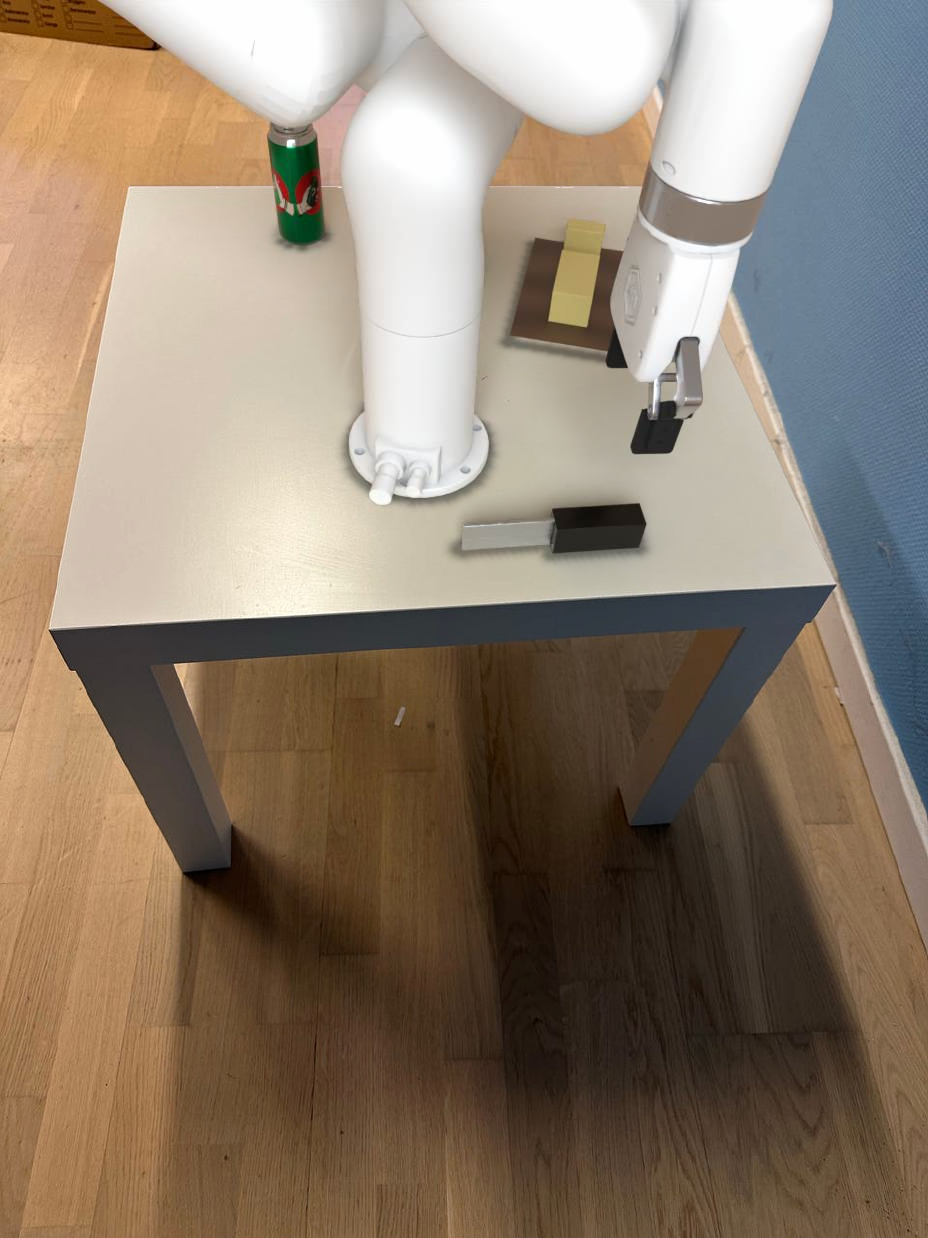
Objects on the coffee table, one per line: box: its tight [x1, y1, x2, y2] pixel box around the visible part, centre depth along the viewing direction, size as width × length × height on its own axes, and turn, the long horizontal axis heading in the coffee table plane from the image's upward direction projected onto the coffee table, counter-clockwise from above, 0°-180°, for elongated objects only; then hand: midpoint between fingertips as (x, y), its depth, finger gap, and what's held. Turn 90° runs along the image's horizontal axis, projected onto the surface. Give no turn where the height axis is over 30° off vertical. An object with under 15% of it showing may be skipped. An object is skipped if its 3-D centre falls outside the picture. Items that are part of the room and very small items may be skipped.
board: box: [509, 237, 624, 353], centre depth 95 cm, size 18×11×1 cm, turn 169°
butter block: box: [548, 250, 600, 327], centre depth 92 cm, size 8×4×4 cm, turn 169°
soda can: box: [266, 121, 326, 246], centre depth 95 cm, size 5×5×12 cm
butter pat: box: [563, 217, 606, 255], centre depth 97 cm, size 2×4×4 cm, turn 79°
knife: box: [461, 502, 647, 555], centre depth 74 cm, size 15×2×3 cm, turn 97°
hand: (636, 406), depth 70 cm, fingers open, 9 cm apart
